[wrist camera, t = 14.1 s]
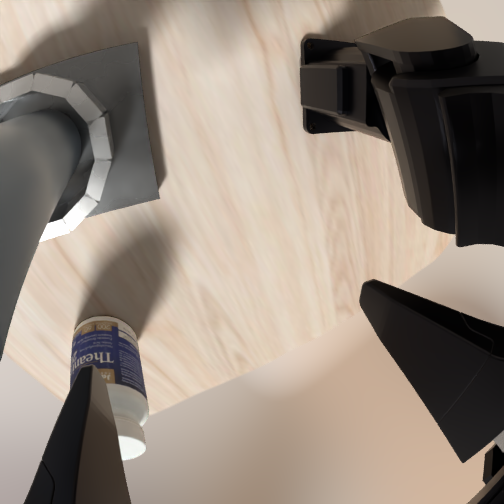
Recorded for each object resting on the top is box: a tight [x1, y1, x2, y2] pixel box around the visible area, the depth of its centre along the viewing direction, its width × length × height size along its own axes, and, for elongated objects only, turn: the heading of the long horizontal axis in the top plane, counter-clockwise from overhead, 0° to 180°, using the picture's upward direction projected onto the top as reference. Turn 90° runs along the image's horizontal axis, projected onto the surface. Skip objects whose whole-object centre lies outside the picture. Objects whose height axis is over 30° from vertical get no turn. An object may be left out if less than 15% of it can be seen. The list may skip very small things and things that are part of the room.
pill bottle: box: [70, 316, 149, 460], centre depth 18 cm, size 5×5×10 cm
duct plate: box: [0, 42, 160, 241], centre depth 13 cm, size 12×9×4 cm
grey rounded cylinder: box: [0, 109, 81, 361], centre depth 8 cm, size 4×4×13 cm
